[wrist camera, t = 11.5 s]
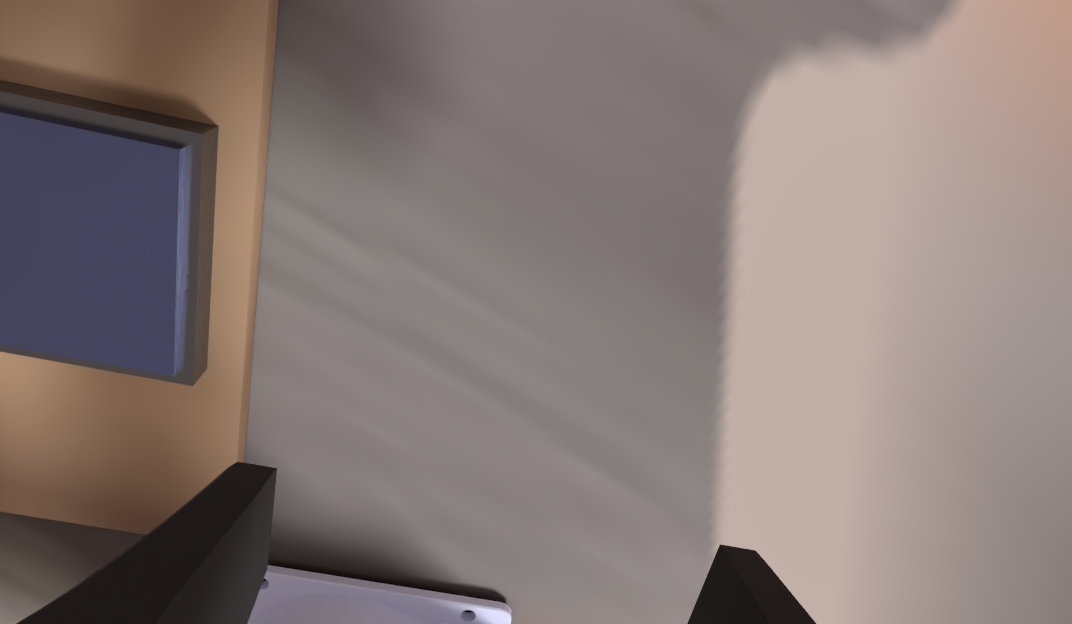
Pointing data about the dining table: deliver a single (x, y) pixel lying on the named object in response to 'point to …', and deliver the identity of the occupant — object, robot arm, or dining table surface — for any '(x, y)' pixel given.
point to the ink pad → (105, 234)
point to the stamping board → (224, 388)
